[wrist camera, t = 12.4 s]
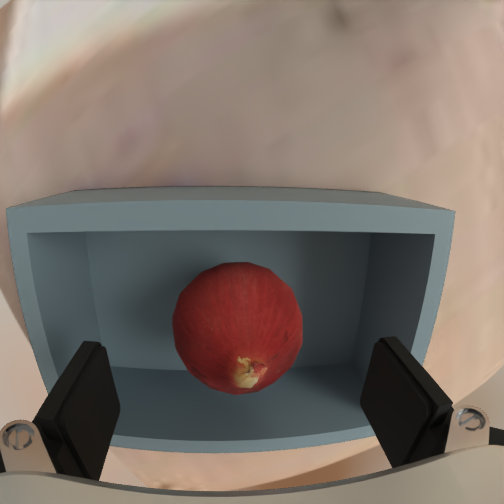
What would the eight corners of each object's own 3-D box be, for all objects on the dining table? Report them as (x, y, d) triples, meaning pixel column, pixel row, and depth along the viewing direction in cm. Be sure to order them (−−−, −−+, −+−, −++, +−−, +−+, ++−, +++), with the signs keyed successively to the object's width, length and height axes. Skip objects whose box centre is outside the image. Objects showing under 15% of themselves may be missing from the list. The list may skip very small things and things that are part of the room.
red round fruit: (281, 336, 19) (322, 431, 11) (184, 343, 18) (176, 445, 11) (283, 241, 17) (340, 302, 10) (174, 247, 17) (149, 315, 9)
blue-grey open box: (75, 190, 16) (6, 208, 10) (381, 192, 18) (455, 211, 11) (100, 368, 20) (67, 438, 13) (356, 364, 21) (398, 429, 15)
